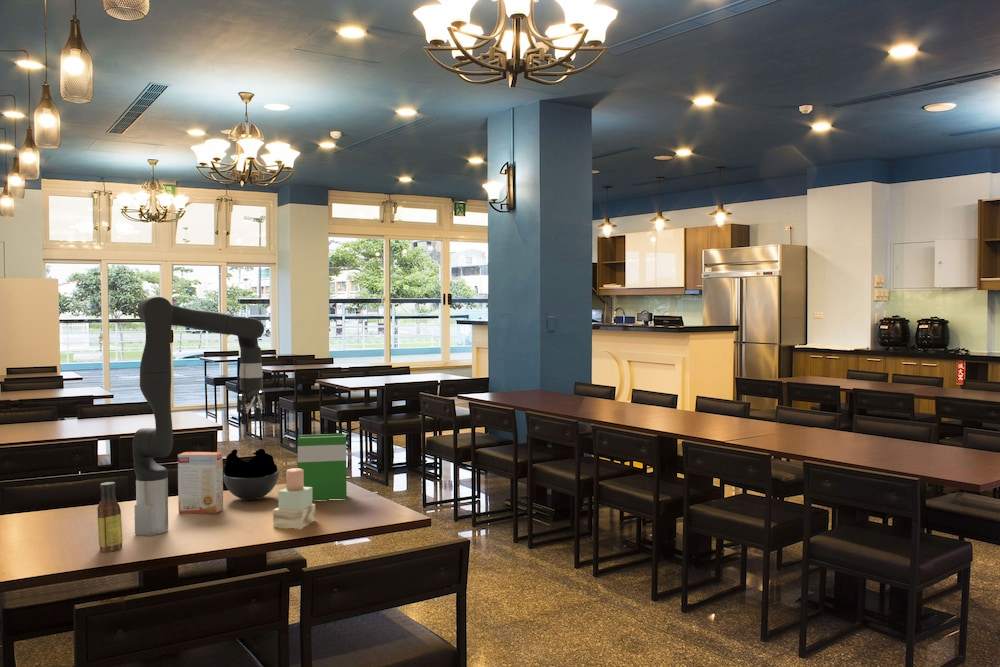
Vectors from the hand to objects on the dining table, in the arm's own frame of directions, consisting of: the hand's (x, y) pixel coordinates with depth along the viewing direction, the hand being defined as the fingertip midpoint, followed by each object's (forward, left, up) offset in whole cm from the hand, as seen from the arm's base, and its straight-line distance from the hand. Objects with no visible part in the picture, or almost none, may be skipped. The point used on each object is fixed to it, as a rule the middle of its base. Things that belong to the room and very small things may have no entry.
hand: (251, 422), depth 264 cm
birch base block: (-8, -20, -32) cm, 39 cm away
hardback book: (+26, -14, -32) cm, 44 cm away
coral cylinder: (-8, -21, -20) cm, 30 cm away
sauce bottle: (-45, +20, -32) cm, 59 cm away
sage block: (-8, -21, -26) cm, 35 cm away
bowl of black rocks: (+20, +12, -32) cm, 40 cm away
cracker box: (0, +20, -32) cm, 38 cm away
